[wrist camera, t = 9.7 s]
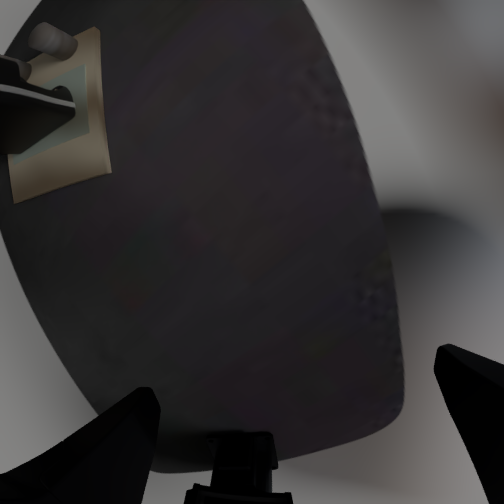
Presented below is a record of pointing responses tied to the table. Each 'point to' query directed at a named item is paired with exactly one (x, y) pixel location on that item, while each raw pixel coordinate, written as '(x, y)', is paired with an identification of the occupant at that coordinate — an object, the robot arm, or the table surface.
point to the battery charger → (29, 110)
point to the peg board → (75, 130)
